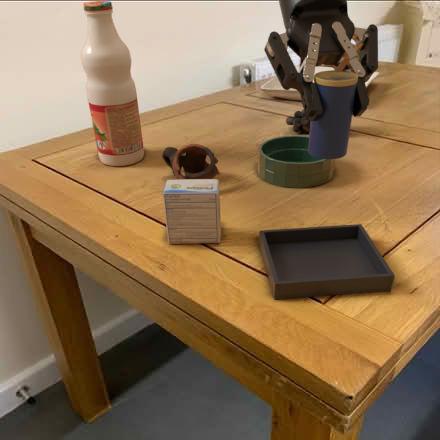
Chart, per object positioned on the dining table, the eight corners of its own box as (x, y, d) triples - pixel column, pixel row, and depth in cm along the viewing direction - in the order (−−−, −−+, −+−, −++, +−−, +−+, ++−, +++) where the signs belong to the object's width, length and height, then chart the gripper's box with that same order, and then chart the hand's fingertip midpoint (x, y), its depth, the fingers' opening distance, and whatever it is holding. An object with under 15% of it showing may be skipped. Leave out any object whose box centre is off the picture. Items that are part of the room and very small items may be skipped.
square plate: (290, 77, 148) (291, 63, 146) (378, 84, 138) (381, 70, 136) (258, 99, 129) (258, 84, 127) (357, 110, 119) (359, 94, 117)
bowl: (322, 158, 95) (324, 133, 92) (342, 188, 84) (345, 161, 81) (253, 162, 95) (253, 137, 92) (264, 192, 83) (265, 166, 80)
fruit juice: (137, 168, 94) (114, 5, 76) (92, 166, 95) (60, 6, 78) (150, 150, 101) (131, -2, 84) (108, 149, 102) (81, -1, 85)
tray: (358, 238, 70) (361, 223, 69) (391, 291, 60) (395, 275, 58) (258, 244, 70) (259, 230, 68) (274, 299, 59) (275, 283, 58)
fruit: (286, 93, 101) (358, 92, 98) (287, 96, 108) (354, 95, 106) (284, 135, 103) (354, 136, 101) (285, 135, 111) (350, 135, 109)
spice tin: (340, 144, 61) (350, 69, 55) (352, 158, 57) (364, 79, 51) (303, 146, 61) (310, 71, 55) (312, 160, 57) (320, 82, 51)
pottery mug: (228, 177, 90) (228, 149, 82) (204, 215, 87) (202, 189, 79) (175, 153, 92) (170, 124, 85) (150, 189, 89) (142, 162, 82)
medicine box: (221, 229, 73) (219, 178, 68) (220, 244, 70) (218, 191, 65) (171, 230, 74) (166, 178, 68) (167, 245, 70) (162, 192, 65)
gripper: (258, -41, 51) (291, 104, 49) (377, -46, 54) (412, 91, 52) (244, 10, 58) (272, 137, 56) (349, 3, 61) (379, 125, 59)
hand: (339, 114), depth 54 cm, fingers closed on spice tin, 5 cm apart
